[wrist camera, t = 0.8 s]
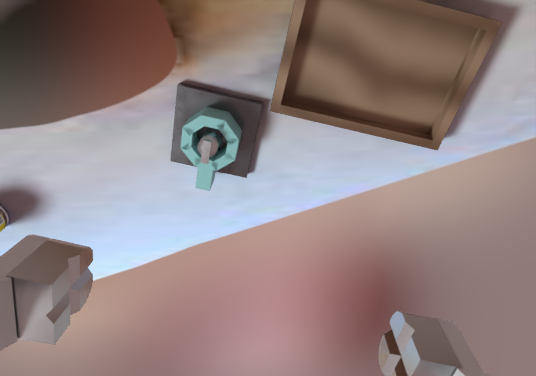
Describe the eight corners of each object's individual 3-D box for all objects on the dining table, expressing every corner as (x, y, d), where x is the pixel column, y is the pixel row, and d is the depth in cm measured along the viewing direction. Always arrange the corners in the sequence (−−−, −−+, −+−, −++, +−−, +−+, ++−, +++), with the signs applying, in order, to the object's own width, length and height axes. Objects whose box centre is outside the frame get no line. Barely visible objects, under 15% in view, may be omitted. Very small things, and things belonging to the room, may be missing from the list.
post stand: (179, 82, 43) (165, 96, 38) (262, 102, 43) (258, 118, 38) (172, 157, 48) (158, 178, 43) (247, 174, 48) (242, 196, 43)
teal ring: (190, 102, 43) (184, 111, 40) (244, 115, 43) (241, 124, 41) (183, 172, 48) (176, 183, 45) (231, 182, 48) (228, 194, 45)
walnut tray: (301, -30, 36) (302, -30, 34) (490, 19, 37) (502, 22, 35) (271, 104, 43) (269, 111, 41) (430, 141, 44) (437, 150, 42)
